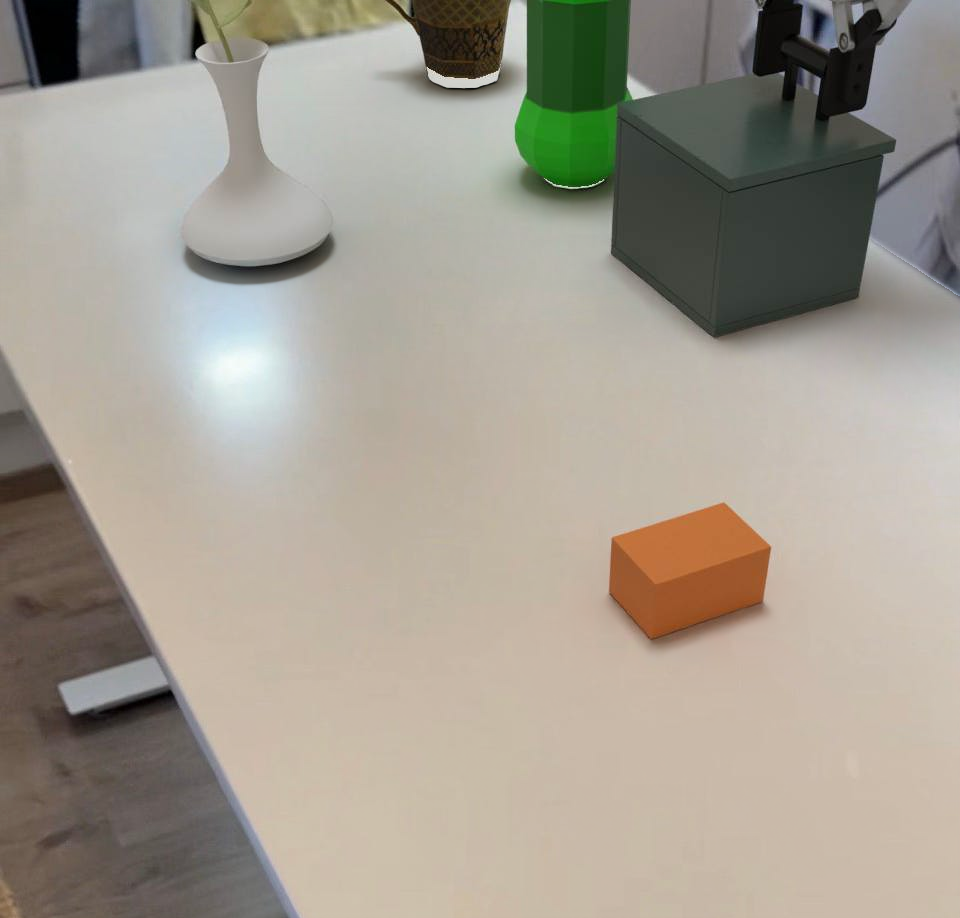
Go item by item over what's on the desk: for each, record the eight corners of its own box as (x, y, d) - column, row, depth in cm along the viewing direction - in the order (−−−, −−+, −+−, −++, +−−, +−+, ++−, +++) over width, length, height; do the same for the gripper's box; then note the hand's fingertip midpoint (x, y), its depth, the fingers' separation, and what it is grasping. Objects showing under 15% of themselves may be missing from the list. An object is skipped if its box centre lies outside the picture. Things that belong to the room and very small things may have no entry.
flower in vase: (358, 261, 104) (321, -137, 86) (212, 295, 101) (141, -110, 82) (297, 195, 112) (251, -180, 94) (160, 226, 109) (85, -157, 91)
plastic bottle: (664, 172, 113) (690, -203, 95) (577, 215, 108) (587, -173, 90) (572, 140, 118) (580, -223, 100) (485, 179, 113) (477, -195, 95)
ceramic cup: (524, 58, 132) (524, -64, 124) (512, 98, 125) (510, -28, 117) (389, 55, 133) (380, -65, 126) (369, 95, 126) (359, -30, 119)
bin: (746, 218, 107) (761, 83, 100) (858, 297, 98) (884, 155, 91) (610, 252, 104) (616, 115, 97) (713, 337, 95) (728, 193, 88)
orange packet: (717, 556, 78) (724, 501, 76) (763, 601, 75) (772, 546, 73) (608, 591, 76) (610, 537, 74) (650, 639, 73) (655, 584, 71)
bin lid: (771, 81, 100) (780, 6, 97) (894, 152, 91) (909, 73, 88) (616, 115, 97) (619, 39, 93) (729, 192, 88) (737, 111, 84)
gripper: (1003, -214, 76) (934, 125, 89) (818, -267, 87) (781, 42, 100) (891, -196, 74) (837, 148, 87) (715, -253, 85) (691, 61, 98)
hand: (807, 89), depth 94 cm, fingers open, 7 cm apart
